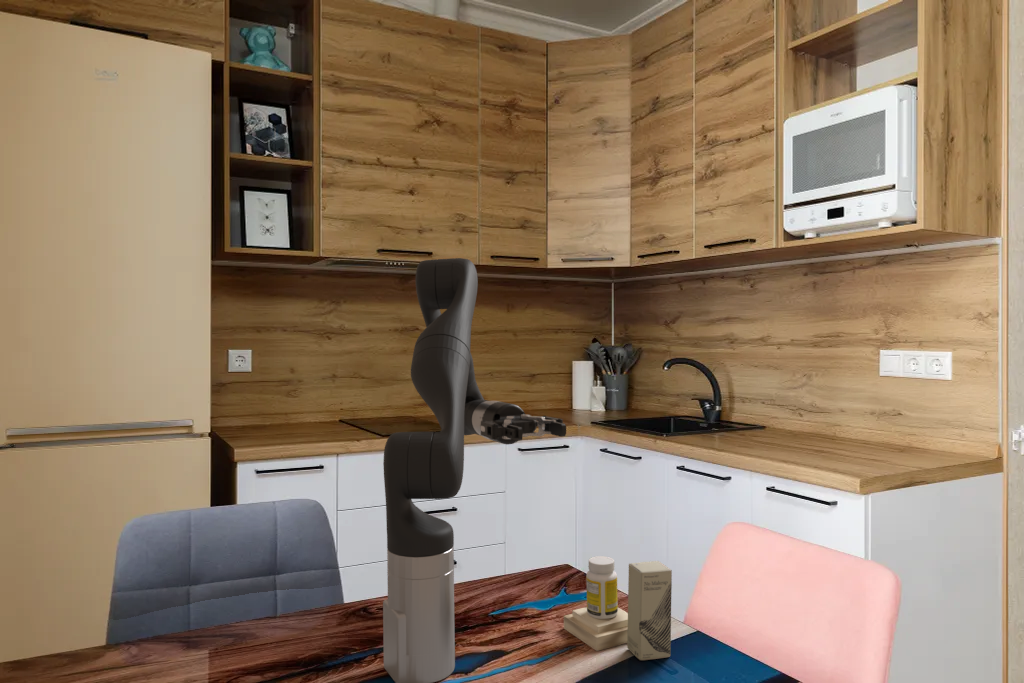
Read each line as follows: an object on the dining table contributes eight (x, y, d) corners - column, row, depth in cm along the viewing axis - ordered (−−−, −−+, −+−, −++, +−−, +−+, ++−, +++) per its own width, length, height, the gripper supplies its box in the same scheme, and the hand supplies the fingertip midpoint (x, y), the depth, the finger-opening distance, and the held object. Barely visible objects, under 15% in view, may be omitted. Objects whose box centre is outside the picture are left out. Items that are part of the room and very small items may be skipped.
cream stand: (596, 651, 104) (596, 630, 104) (563, 628, 112) (563, 609, 112) (645, 637, 109) (645, 618, 109) (609, 616, 117) (609, 598, 117)
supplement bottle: (617, 608, 113) (616, 555, 112) (618, 620, 108) (618, 565, 108) (586, 607, 113) (586, 554, 113) (586, 619, 108) (586, 564, 108)
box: (639, 662, 101) (639, 572, 101) (626, 648, 105) (626, 562, 105) (673, 657, 102) (673, 569, 102) (658, 644, 107) (658, 559, 106)
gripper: (464, 403, 131) (505, 412, 116) (531, 399, 137) (577, 407, 123) (464, 444, 131) (505, 458, 117) (531, 438, 138) (578, 450, 123)
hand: (542, 432), depth 120 cm, fingers open, 8 cm apart
